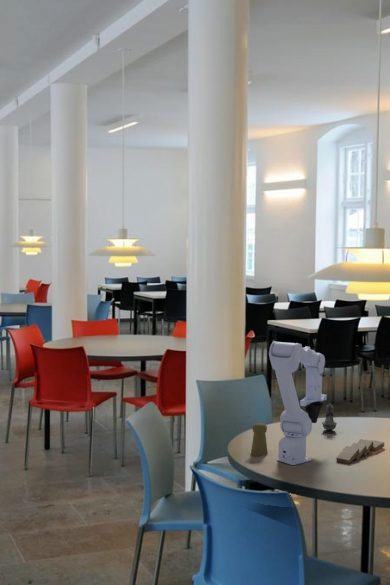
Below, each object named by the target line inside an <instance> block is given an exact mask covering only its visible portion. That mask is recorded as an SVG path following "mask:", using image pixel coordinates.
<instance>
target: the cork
mask: <svg viewBox="0 0 390 585" xmlns="http://www.w3.org/2000/svg"><path fill="white" fill-rule="evenodd" d="M267 427H268V426H267V424H266V423H263V422H256V423H254V424H253V425H252V429H251V430H252V432H253V437H252V444H251V449H250V450H251V452H250V455H252V456H255V457H265V456H268V454H269V453H268V445H267V444H268V443H267V437H266V432H267V430H268V428H267Z"/></svg>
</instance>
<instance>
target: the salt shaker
mask: <svg viewBox="0 0 390 585" xmlns="http://www.w3.org/2000/svg"><path fill="white" fill-rule="evenodd" d="M325 410H326V411H325V413H324V414H325V420H324V421H323V422H322V423H321V424H322V427H323V429H324V430H322V433H323V434H326V433H327V434H329V435H333V434H336V433H337V432H336V431H335V429H336V428H337V425H338V423H337V422H335V420H334V415H335V413H334V405H333V404H332V402H329V404H326V407H325Z"/></svg>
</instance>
